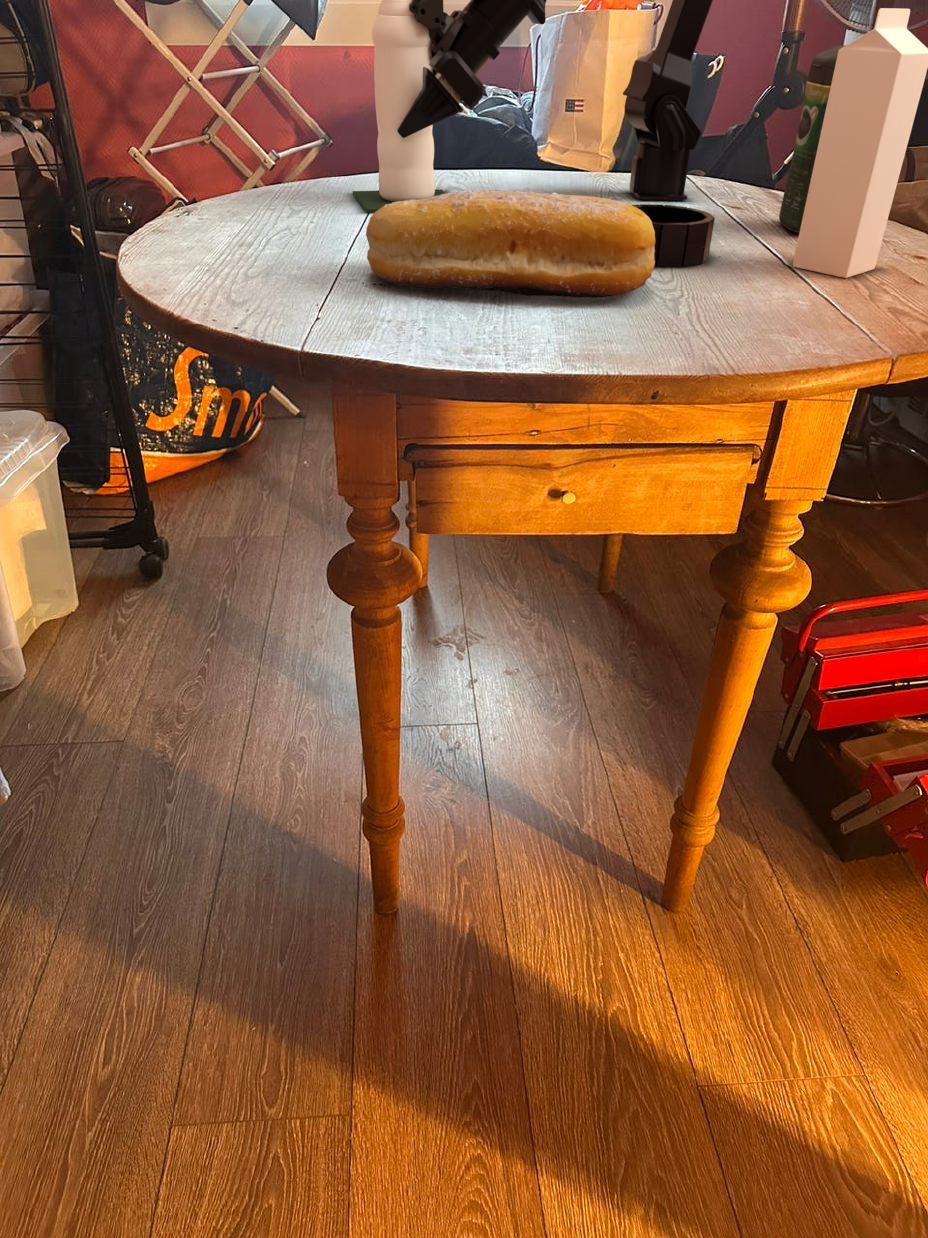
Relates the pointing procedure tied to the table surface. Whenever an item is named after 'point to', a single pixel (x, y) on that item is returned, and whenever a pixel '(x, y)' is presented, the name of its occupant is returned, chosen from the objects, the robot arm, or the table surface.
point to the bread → (513, 243)
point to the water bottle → (401, 102)
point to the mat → (377, 199)
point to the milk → (862, 147)
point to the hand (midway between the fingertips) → (394, 130)
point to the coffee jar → (808, 138)
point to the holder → (679, 234)
